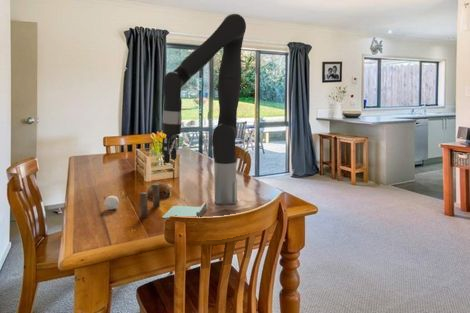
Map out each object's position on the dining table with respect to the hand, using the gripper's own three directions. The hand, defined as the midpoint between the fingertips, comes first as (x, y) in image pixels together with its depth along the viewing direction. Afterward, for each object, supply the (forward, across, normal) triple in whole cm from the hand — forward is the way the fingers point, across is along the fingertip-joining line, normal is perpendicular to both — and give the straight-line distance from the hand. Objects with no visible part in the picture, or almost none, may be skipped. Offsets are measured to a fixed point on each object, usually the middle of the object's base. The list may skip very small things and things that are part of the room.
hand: (170, 161), depth 147 cm
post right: (+18, -6, +3) cm, 19 cm away
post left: (+18, -19, +3) cm, 26 cm away
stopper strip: (+16, -12, -18) cm, 27 cm away
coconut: (+19, +8, +7) cm, 22 cm away
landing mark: (+17, -12, -11) cm, 24 cm away
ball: (+17, -12, +19) cm, 28 cm away
